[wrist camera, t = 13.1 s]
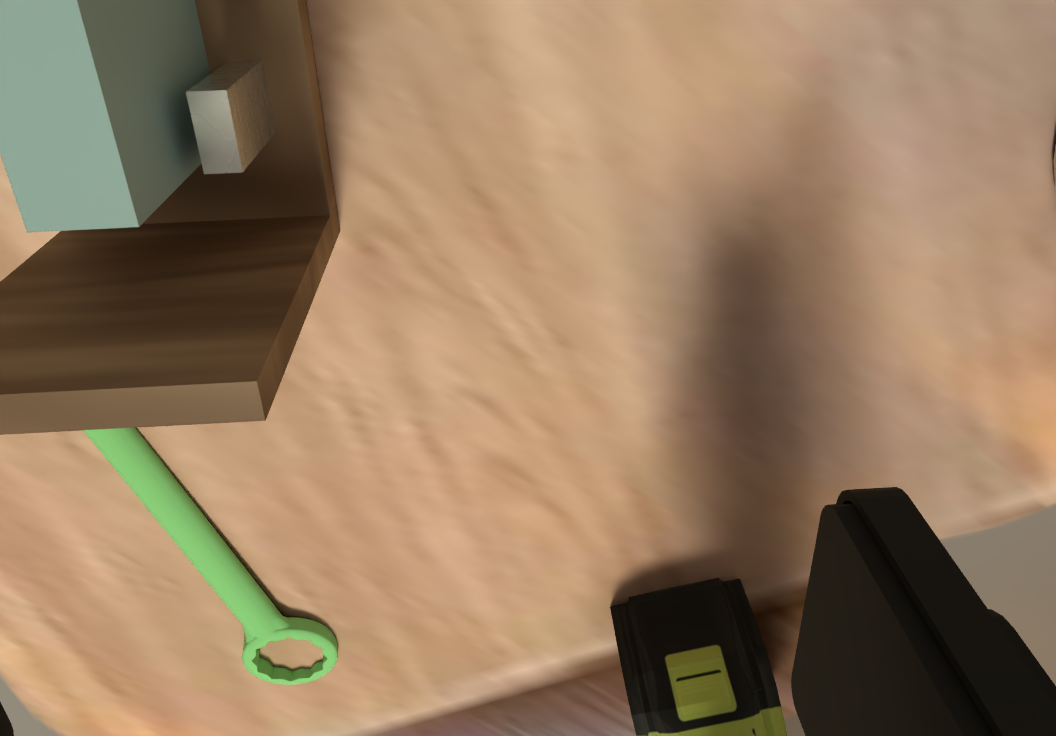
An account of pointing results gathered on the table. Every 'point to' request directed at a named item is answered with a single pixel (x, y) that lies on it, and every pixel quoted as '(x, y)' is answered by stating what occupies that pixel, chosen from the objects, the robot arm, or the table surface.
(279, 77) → the cabinet base
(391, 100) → the table surface
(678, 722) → the cordless drill
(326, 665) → the wrench
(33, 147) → the pale teal rectangular block
